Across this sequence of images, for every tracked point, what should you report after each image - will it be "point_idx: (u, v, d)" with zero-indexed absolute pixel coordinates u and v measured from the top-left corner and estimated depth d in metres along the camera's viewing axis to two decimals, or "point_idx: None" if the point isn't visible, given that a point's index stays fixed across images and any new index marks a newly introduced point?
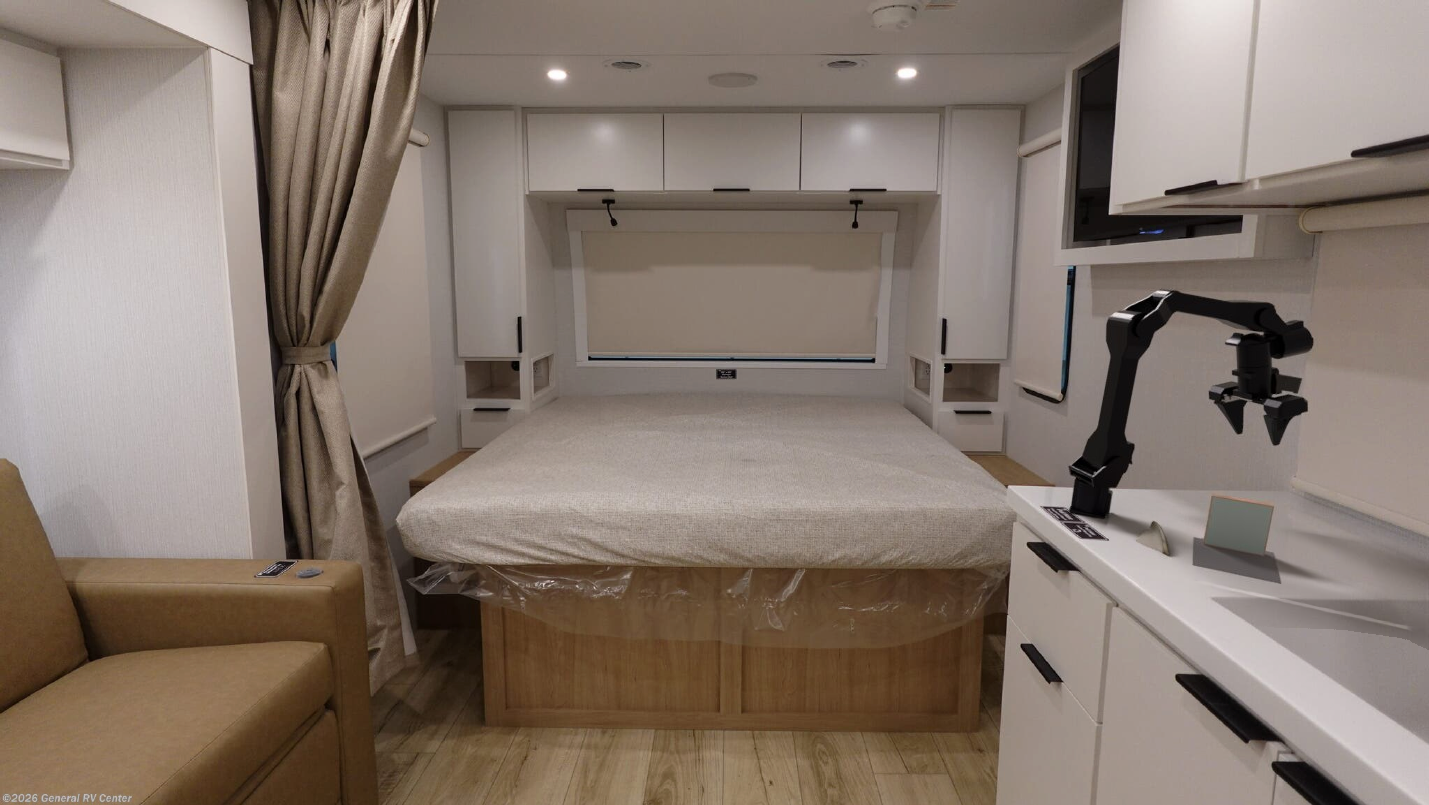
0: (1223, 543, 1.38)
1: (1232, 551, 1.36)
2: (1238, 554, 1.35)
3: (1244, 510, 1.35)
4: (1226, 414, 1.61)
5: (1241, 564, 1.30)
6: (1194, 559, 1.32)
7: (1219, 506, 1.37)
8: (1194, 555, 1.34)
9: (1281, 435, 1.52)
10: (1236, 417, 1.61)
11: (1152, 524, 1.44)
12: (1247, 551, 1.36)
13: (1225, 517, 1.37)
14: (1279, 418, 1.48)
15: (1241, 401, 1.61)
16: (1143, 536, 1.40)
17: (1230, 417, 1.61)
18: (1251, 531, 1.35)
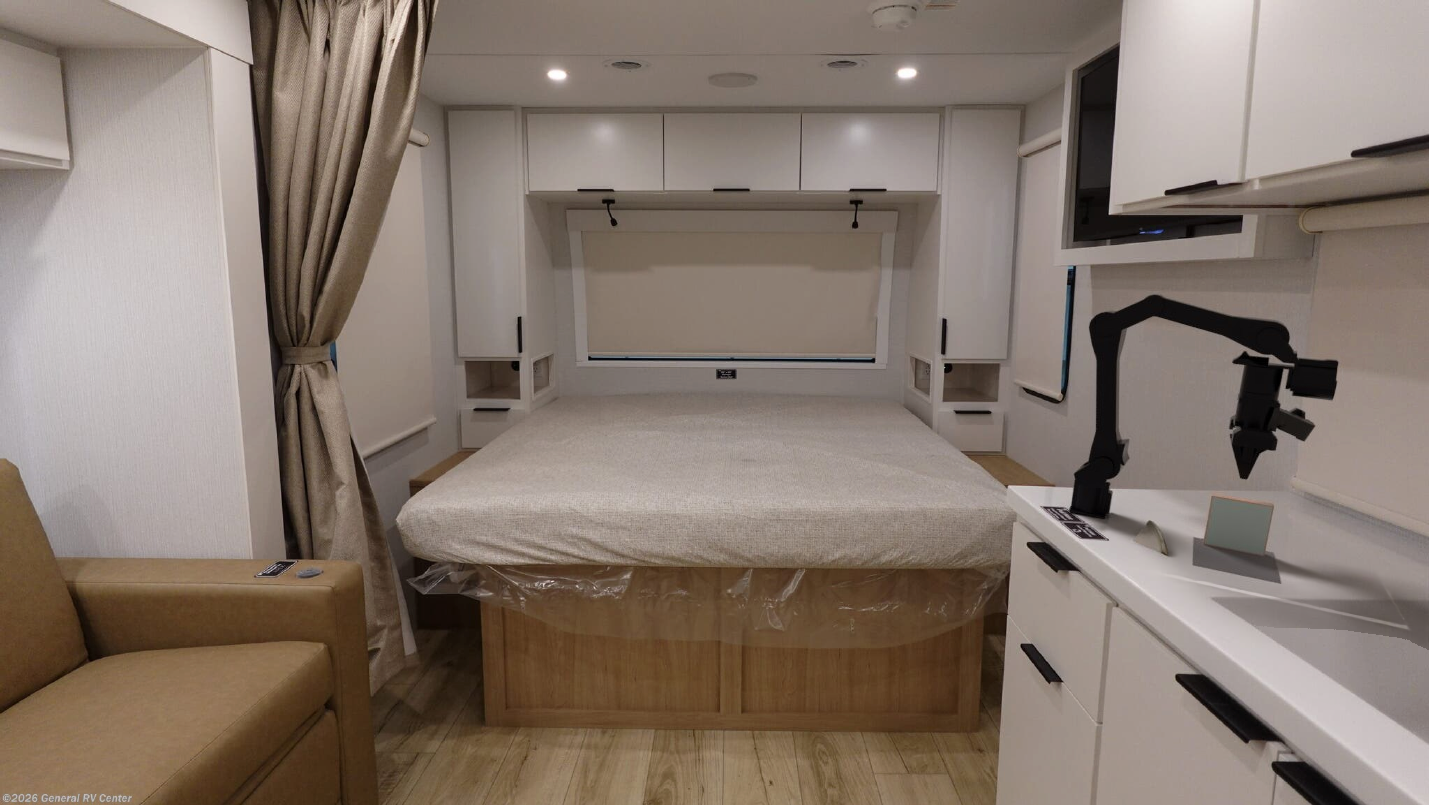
0: (1223, 543, 1.38)
1: (1232, 551, 1.36)
2: (1238, 554, 1.35)
3: (1244, 510, 1.35)
4: None
5: (1241, 564, 1.30)
6: (1194, 559, 1.32)
7: (1219, 506, 1.37)
8: (1194, 555, 1.34)
9: (1249, 469, 1.38)
10: None
11: (1148, 524, 1.44)
12: (1247, 551, 1.36)
13: (1225, 517, 1.37)
14: None
15: None
16: (1140, 536, 1.41)
17: None
18: (1251, 531, 1.35)
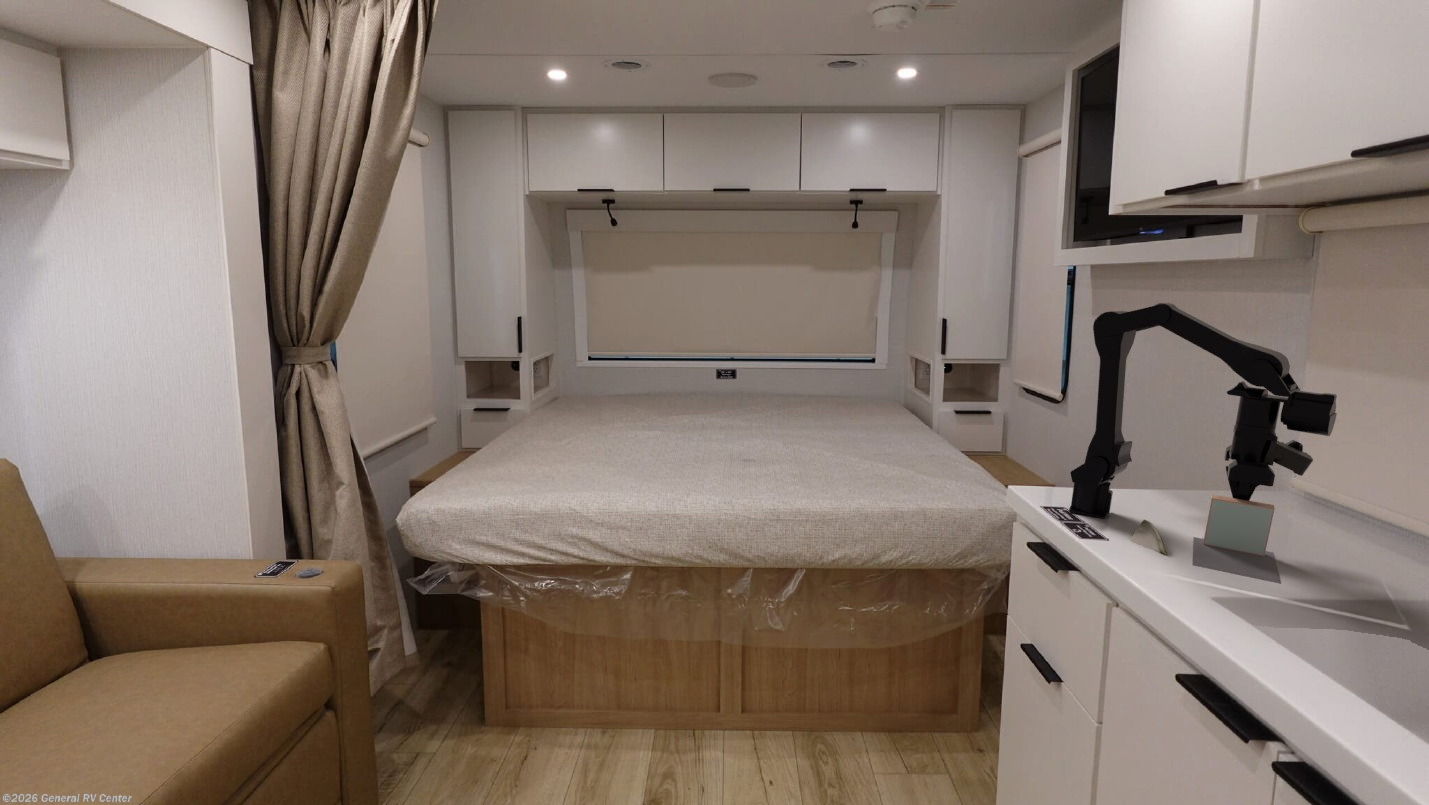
0: (1223, 544, 1.37)
1: (1232, 551, 1.36)
2: (1238, 554, 1.35)
3: (1244, 512, 1.34)
4: None
5: (1241, 564, 1.30)
6: (1194, 559, 1.32)
7: (1219, 508, 1.36)
8: (1194, 555, 1.34)
9: None
10: None
11: (1143, 523, 1.44)
12: (1247, 551, 1.36)
13: (1225, 519, 1.36)
14: None
15: None
16: (1136, 535, 1.41)
17: None
18: (1251, 532, 1.35)
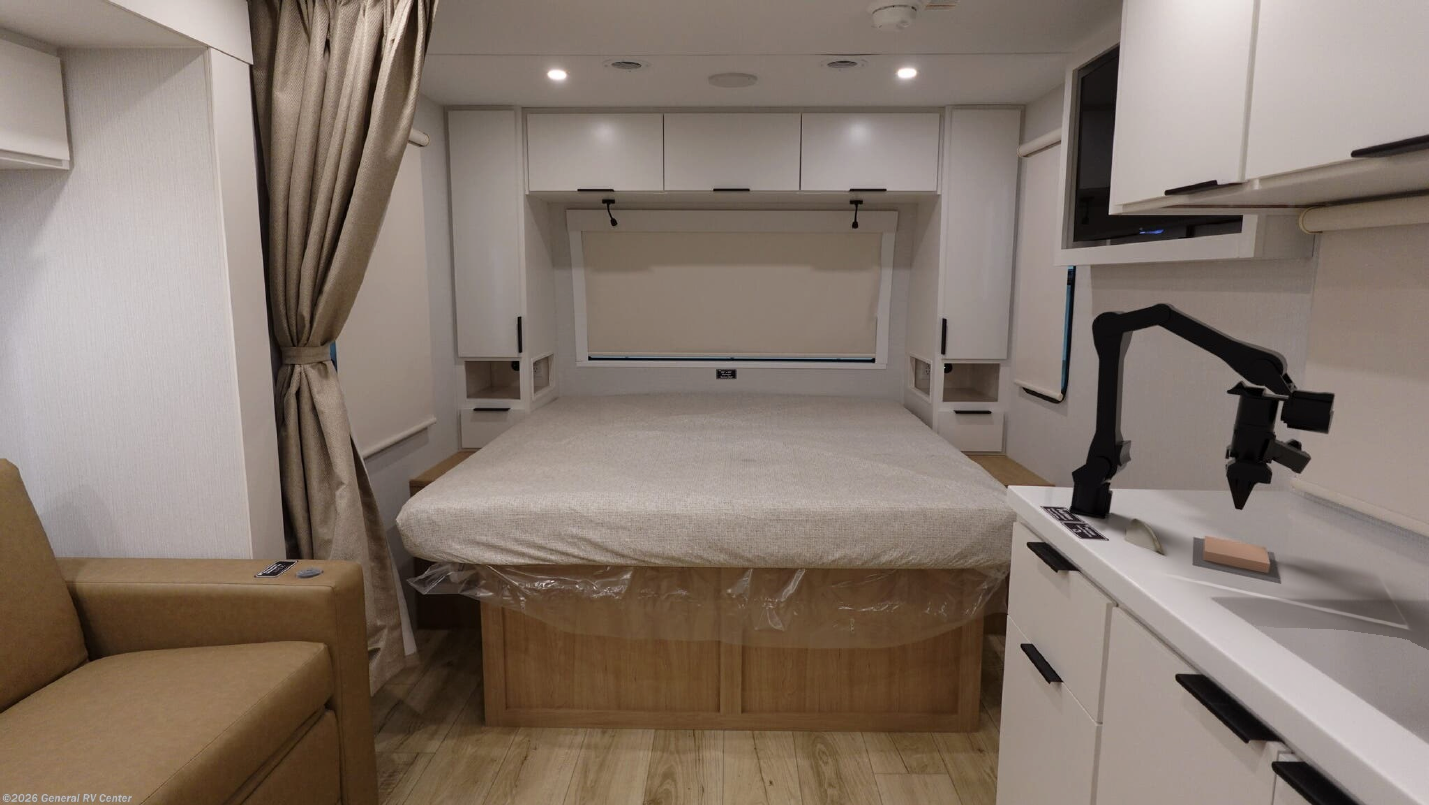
0: None
1: None
2: None
3: None
4: None
5: None
6: (1194, 559, 1.32)
7: None
8: (1194, 555, 1.34)
9: (1244, 499, 1.37)
10: None
11: (1134, 522, 1.44)
12: None
13: None
14: None
15: None
16: (1130, 535, 1.41)
17: None
18: None
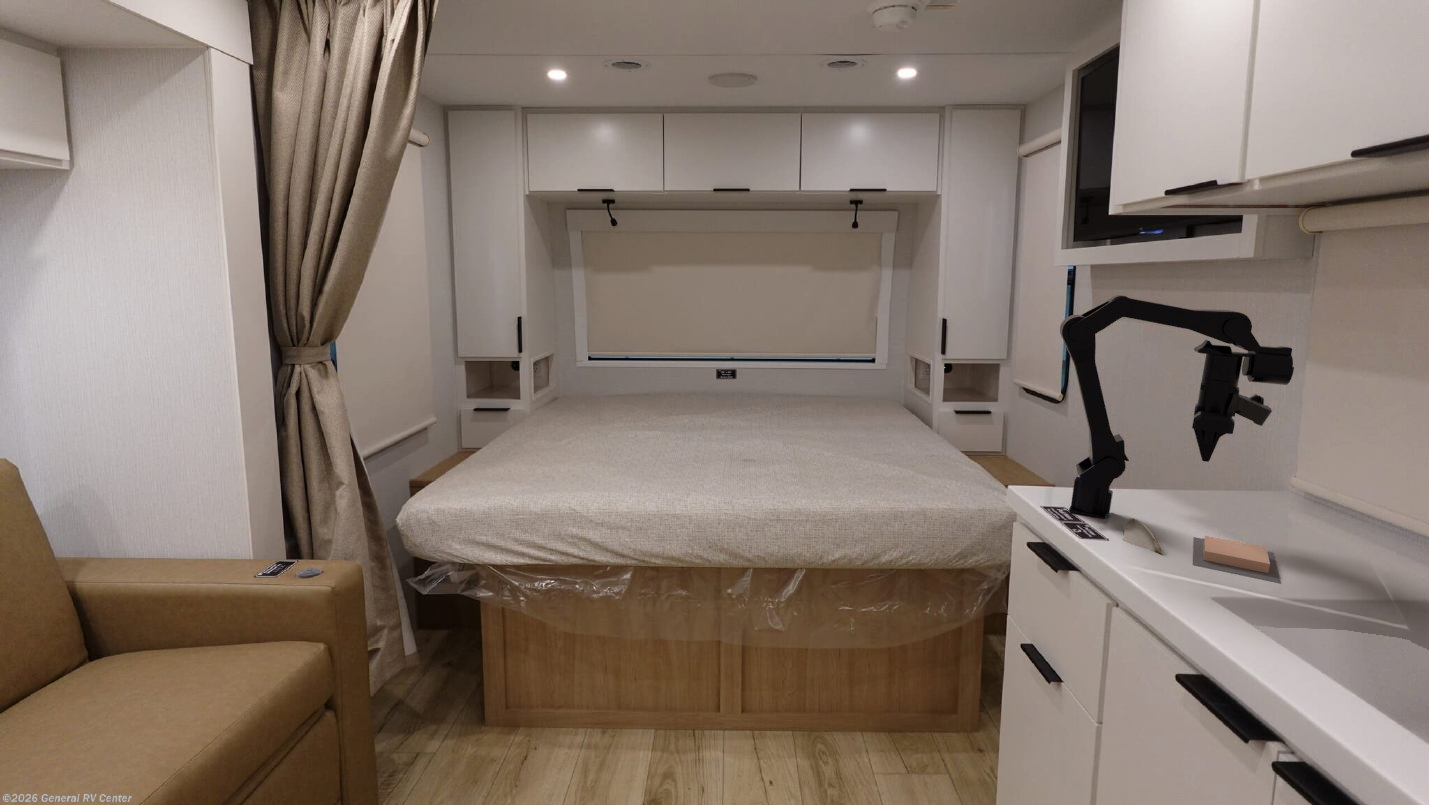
0: None
1: None
2: None
3: None
4: None
5: None
6: (1194, 559, 1.32)
7: None
8: (1194, 555, 1.34)
9: (1210, 451, 1.46)
10: None
11: (1131, 521, 1.45)
12: None
13: None
14: None
15: None
16: (1128, 535, 1.41)
17: None
18: None
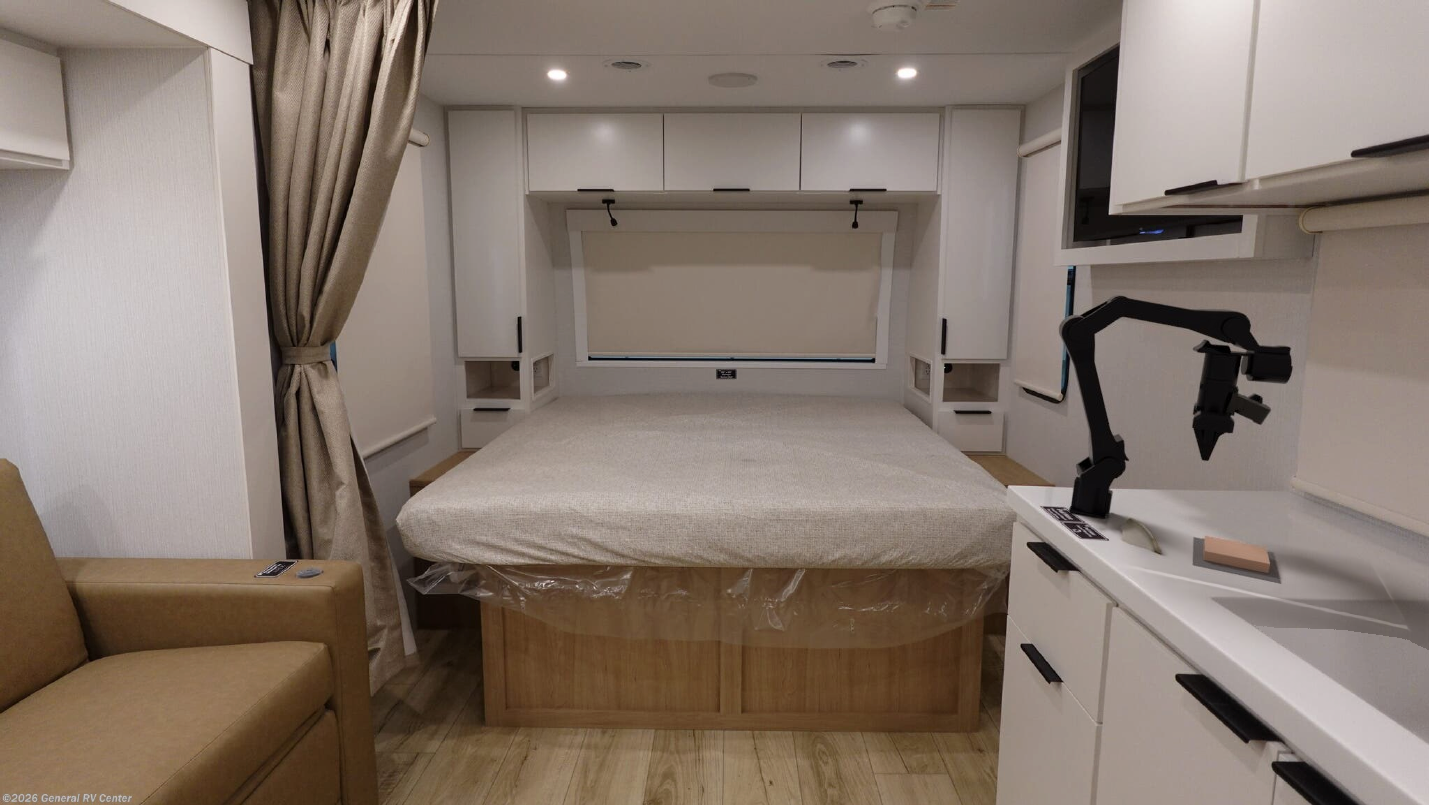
0: None
1: None
2: None
3: None
4: None
5: None
6: (1194, 559, 1.32)
7: None
8: (1194, 555, 1.34)
9: (1210, 451, 1.46)
10: None
11: (1129, 521, 1.45)
12: None
13: None
14: None
15: None
16: (1126, 535, 1.41)
17: None
18: None
